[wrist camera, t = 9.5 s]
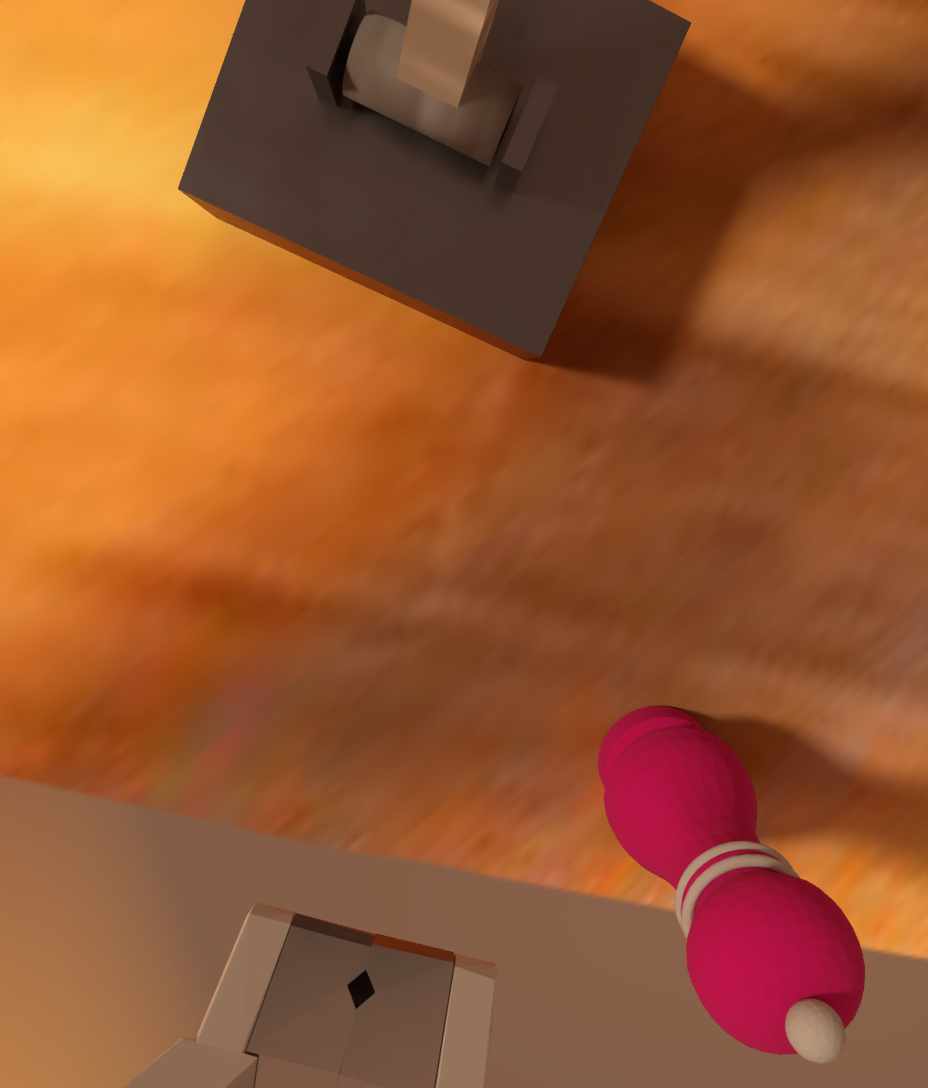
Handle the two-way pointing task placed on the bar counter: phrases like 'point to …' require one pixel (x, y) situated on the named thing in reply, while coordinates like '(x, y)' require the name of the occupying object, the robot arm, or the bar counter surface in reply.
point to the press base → (435, 157)
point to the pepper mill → (731, 888)
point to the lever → (434, 74)
